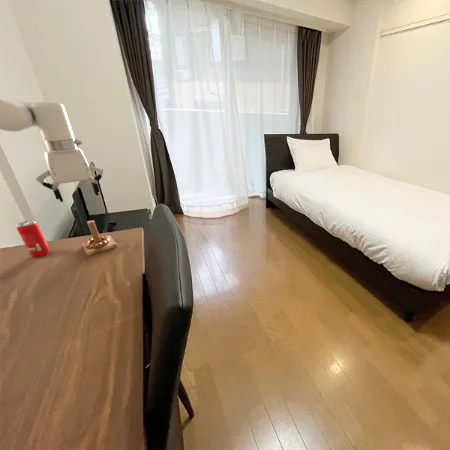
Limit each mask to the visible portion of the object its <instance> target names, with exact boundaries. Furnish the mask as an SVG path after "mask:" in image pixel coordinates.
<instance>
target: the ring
mask: <svg viewBox="0 0 450 450" xmlns="http://www.w3.org/2000/svg"><path fill="white" fill-rule="evenodd" d="M99 236H100V238H101V240H105V241H103V242H101V243H98V244H93V245H91V244H90V243H92V242H94V239H93V237H91V238H90V239H87V240H86V241H85V242H84V243H85V244H84V245H85V247H86V248H90V249H92V248H99V247H102V246H104V245H106V244H108V243H109V241H110V239H109V237H107V236H108V235H99Z"/></svg>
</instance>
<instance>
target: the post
mask: <svg viewBox="0 0 450 450" xmlns="http://www.w3.org/2000/svg"><path fill="white" fill-rule="evenodd" d="M86 223H87V225H88V229H89V231H90V233H91V236H92V238H93V239H94V242H92V243H90V244H91V245H93V244H98V243H101V242H103V241H105V240H101V238H100V236H101V235H100V233H99V230H98V228H97V225H96V222H95V220H88V221H86ZM106 236H107V237H109V239H110V241H109V243H108V244H106V245H104V246H102V247H99V248H92V249H90V248H86V247H85V245H84V244H85V242H82V243H81V245H82V247H83V249H84V251H85V253H86V256H91V255H94V254H97V253H100V252H103V251H107V250H111V249H114V248H117V247H118V245H117V243H116V242H115V240H114V239H113V238H112V236H111V235H110V234H109V235H106Z"/></svg>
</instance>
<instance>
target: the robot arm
mask: <svg viewBox="0 0 450 450" xmlns="http://www.w3.org/2000/svg"><path fill="white" fill-rule="evenodd" d="M36 127H37V128H38V131H39V133H40V135H41V138H42V141H43V144H44V146H45V149H46V150H44V151H43V154H44V160H45V163H46V167H47V170H45V171H44V172H42V173H41V174H39V175H37V176H36V177H35V180H36V181H37V182H38V183H39V184H40V185H42V186H43V187H45V188H46V189H49V190H51V191H52V192H53V195H54V197H55V199H56V200H59V202H60V203H63V202H64V200H63V196H62V194H61V191H60V189H59V186H60V185H61V184H69V183H74V182H81V181H82V182H83V181H87V180H88V181H90V182H91V183H90V184H91V187H92V190H93V193H94V195H95V196H99V193H100V191H101V190H100V188H99V182H100V180H101V179H103V178H102V177H103V173H104V169H103V168H100V167H98V166H93V165H90V164H88V160H87V159H86V157H85V155H84V152H83V150H82V149H81V148H80V147H78V146H80V145H83V142H82V140H81V139H76V138H75V135H74V132H73V129H72V126H71V123H70V120H69V116H68V114H67V111H66V108H65V106H64V104H62V103H61V102H58V101H34V102H32V101H24V100H23V101H22V100H3V99H0V130H2V131H7V132H12V133H13V132H21V131H24V130H26V129H30V128H36ZM92 171H94V172H96V175H95V176H93V175H92ZM49 176H50V178H51V180H52V183H49V182H47V181H46V180H45V179H46V178H48V177H49Z"/></svg>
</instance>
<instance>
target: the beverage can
mask: <svg viewBox="0 0 450 450" xmlns="http://www.w3.org/2000/svg"><path fill="white" fill-rule="evenodd" d="M16 231H17V232H18V234H19V236H20V238H21V240H22V242H23V244H24V246H25V247H26V250H27V252H28V254H29V256H31V257H33V258H42V257H44V256H47V255H48V254H50V247H49V244H48V243H47V240H46V239H45V236H44V234H43V232H42V230H41V228H40V226H39V224H38V222H36V220H25V221H21V222H19V223H17V224H16Z"/></svg>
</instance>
